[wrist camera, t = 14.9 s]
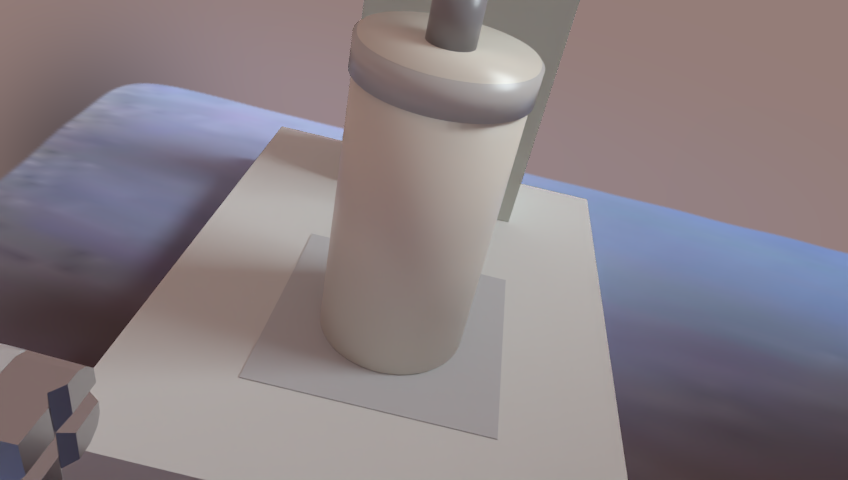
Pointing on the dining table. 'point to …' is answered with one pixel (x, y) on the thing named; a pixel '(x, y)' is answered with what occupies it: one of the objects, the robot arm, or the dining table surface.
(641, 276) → the dining table surface
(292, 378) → the press
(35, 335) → the dining table surface
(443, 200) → the white lidded bottle
